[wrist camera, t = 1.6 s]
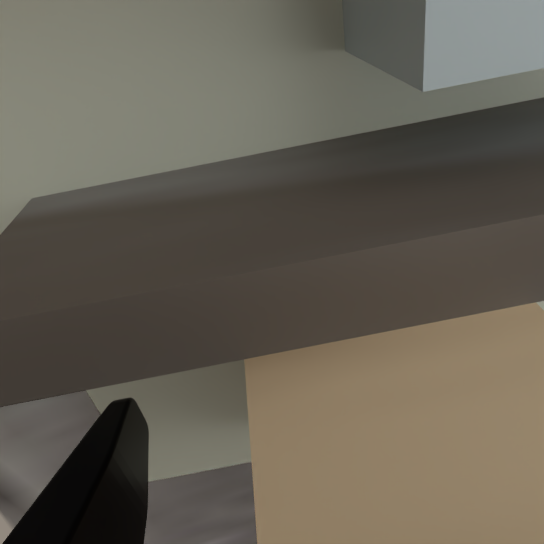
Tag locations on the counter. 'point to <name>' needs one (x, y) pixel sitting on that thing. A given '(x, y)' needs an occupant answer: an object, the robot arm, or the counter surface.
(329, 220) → the scraper
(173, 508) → the counter surface
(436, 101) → the board
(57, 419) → the counter surface
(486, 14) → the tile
